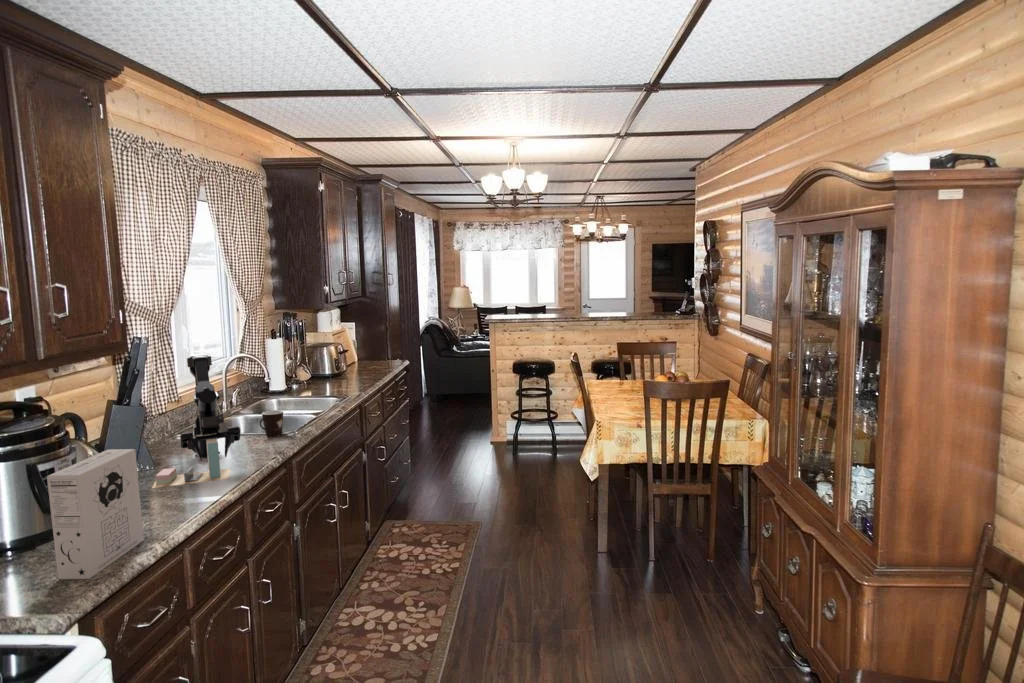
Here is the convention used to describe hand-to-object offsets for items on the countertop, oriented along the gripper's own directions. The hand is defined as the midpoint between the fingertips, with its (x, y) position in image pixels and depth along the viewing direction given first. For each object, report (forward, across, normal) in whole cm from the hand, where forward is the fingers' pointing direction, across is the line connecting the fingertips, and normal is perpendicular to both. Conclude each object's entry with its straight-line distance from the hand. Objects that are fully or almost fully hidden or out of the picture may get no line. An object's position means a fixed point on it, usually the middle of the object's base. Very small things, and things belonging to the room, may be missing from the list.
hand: (213, 458), depth 220 cm
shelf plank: (+4, -7, +7) cm, 10 cm away
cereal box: (+42, -29, -31) cm, 60 cm away
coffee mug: (-31, +26, +42) cm, 58 cm away
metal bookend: (+3, -6, +6) cm, 9 cm away
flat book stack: (+1, -14, +8) cm, 16 cm away
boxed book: (+4, 0, +6) cm, 7 cm away
